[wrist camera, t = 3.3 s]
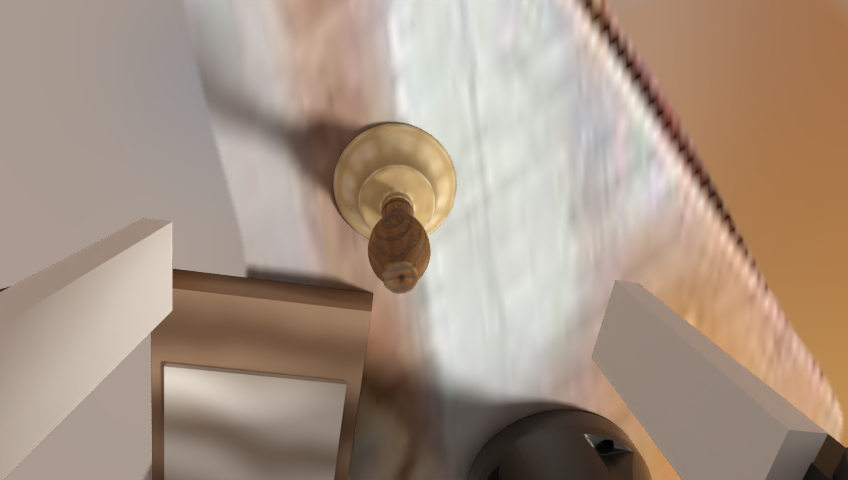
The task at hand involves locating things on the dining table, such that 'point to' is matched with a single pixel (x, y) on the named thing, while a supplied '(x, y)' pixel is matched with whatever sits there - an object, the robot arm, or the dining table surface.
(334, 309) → the brown wooden display stand
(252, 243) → the dining table surface
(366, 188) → the hand bell
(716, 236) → the dining table surface
